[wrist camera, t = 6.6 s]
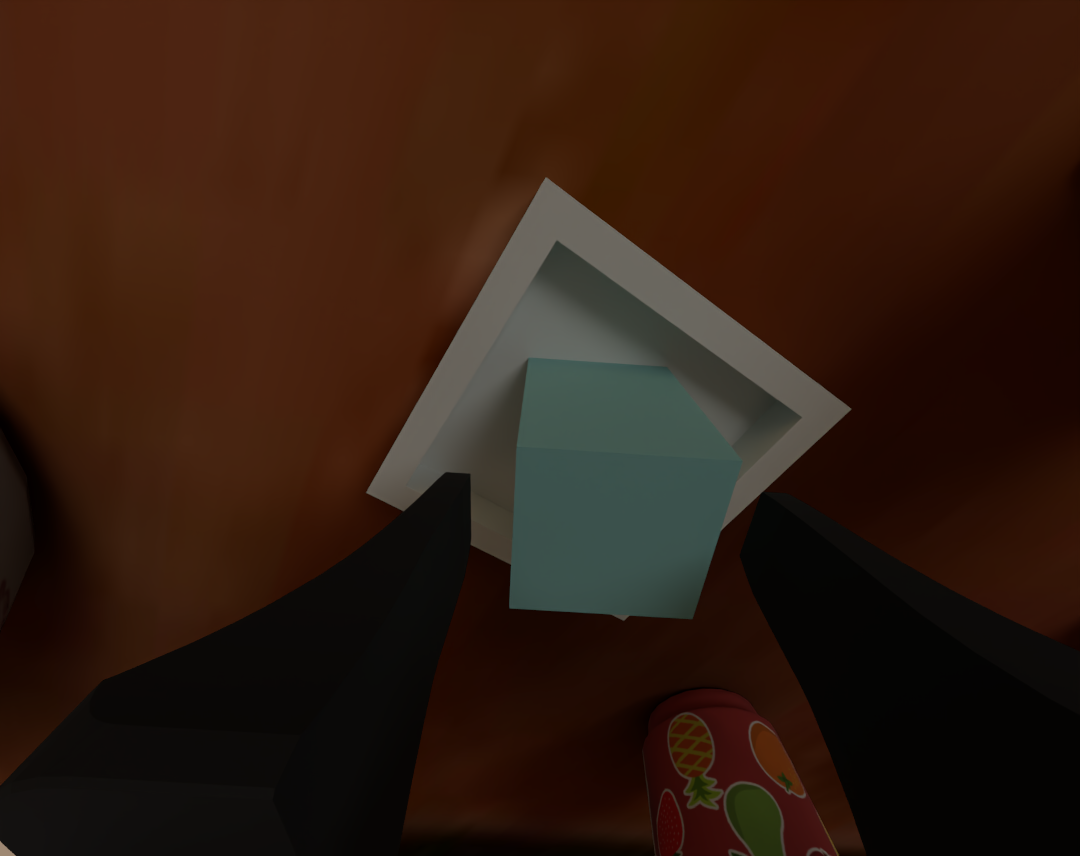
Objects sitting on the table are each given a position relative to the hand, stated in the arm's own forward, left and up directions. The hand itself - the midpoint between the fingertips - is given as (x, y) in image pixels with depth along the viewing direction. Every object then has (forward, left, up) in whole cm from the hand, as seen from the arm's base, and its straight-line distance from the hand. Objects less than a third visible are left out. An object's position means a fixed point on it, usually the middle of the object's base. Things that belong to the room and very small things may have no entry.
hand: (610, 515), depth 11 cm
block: (0, 0, -5) cm, 5 cm away
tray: (0, 0, -5) cm, 5 cm away
